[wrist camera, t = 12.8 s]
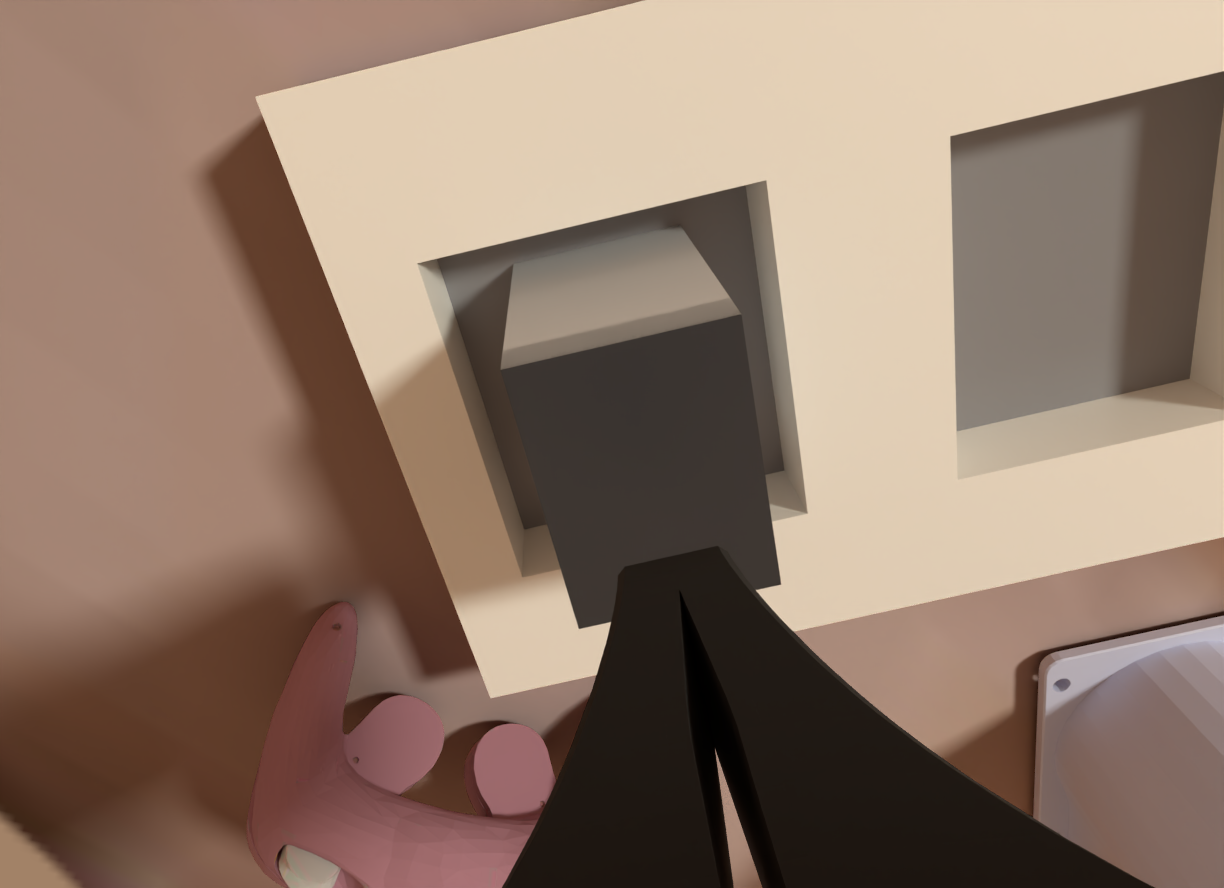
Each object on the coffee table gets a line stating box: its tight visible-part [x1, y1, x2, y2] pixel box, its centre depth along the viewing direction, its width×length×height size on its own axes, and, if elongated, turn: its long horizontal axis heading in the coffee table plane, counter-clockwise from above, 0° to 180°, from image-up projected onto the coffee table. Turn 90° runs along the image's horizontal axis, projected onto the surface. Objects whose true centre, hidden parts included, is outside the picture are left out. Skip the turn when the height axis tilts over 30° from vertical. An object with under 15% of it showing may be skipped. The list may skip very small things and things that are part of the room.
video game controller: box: [247, 602, 556, 888], centre depth 21 cm, size 10×5×7 cm, turn 66°
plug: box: [500, 225, 781, 629], centre depth 16 cm, size 5×4×6 cm
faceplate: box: [256, 0, 1224, 698], centre depth 18 cm, size 14×20×2 cm
